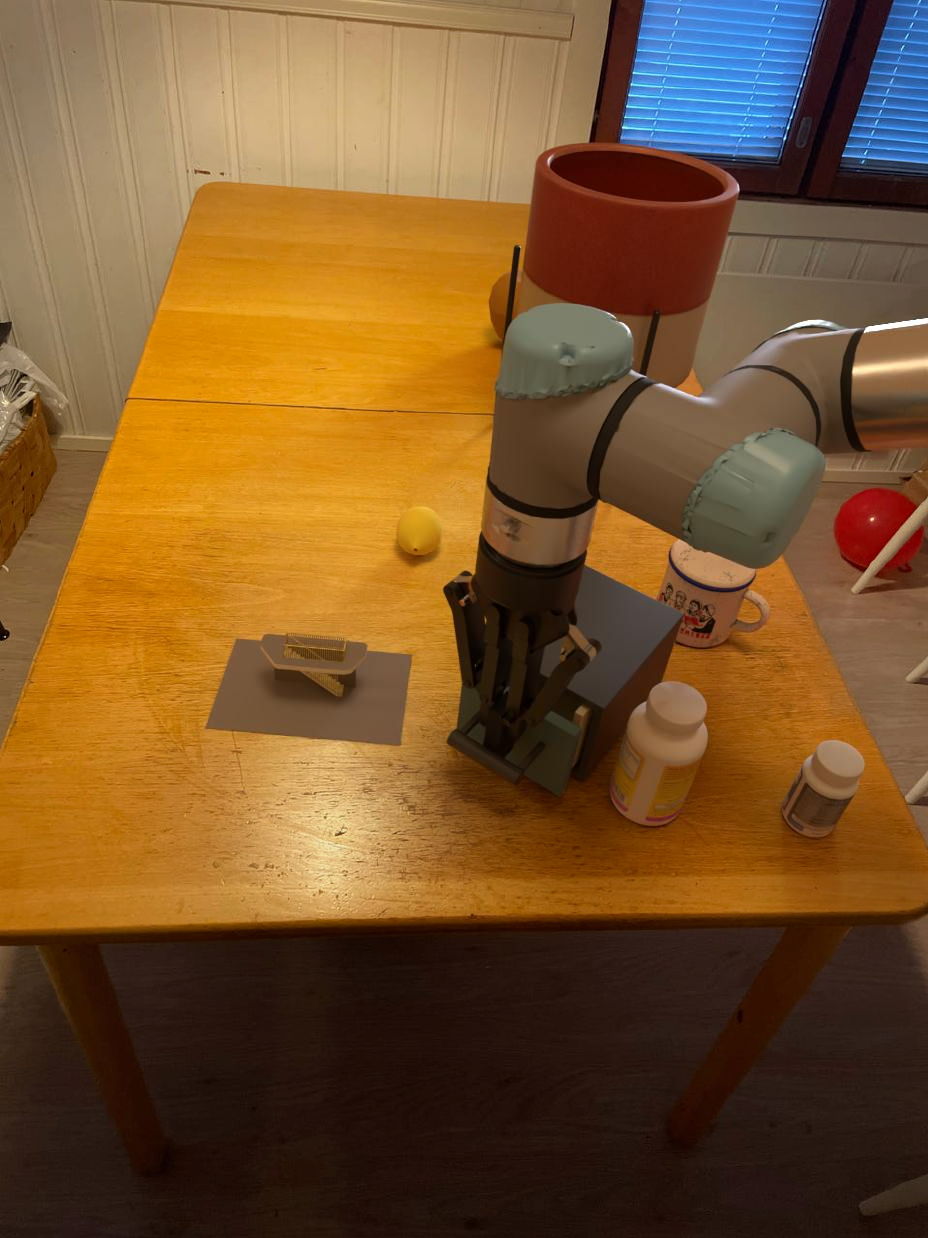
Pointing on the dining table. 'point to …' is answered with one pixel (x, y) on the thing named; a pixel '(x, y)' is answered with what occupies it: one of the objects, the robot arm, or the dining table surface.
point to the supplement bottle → (660, 754)
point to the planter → (628, 244)
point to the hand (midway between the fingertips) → (497, 754)
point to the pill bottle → (823, 788)
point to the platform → (313, 689)
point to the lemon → (419, 530)
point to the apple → (502, 302)
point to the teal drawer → (528, 742)
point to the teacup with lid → (708, 595)
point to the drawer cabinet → (615, 658)
